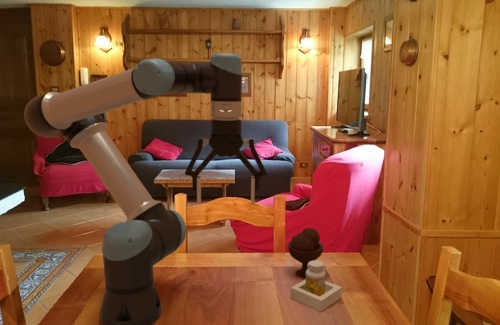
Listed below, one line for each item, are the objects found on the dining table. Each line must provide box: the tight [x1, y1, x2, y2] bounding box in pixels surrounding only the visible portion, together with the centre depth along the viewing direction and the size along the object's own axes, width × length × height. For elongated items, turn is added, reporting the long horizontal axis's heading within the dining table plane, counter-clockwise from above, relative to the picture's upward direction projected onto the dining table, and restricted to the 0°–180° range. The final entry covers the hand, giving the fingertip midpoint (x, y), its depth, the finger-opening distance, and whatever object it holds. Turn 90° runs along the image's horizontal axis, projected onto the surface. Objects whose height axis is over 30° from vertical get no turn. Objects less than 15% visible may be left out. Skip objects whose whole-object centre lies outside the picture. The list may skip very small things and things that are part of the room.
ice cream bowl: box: [287, 227, 324, 279], centre depth 128 cm, size 11×11×15 cm
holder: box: [290, 278, 343, 312], centre depth 115 cm, size 10×10×3 cm
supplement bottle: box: [305, 260, 327, 296], centre depth 114 cm, size 5×5×10 cm
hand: (225, 202), depth 106 cm, fingers open, 13 cm apart
